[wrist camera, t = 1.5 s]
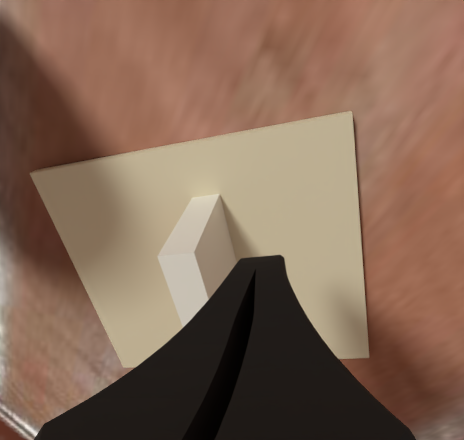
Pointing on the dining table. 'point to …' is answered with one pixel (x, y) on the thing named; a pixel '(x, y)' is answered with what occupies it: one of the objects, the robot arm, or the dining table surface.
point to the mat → (238, 220)
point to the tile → (197, 255)
